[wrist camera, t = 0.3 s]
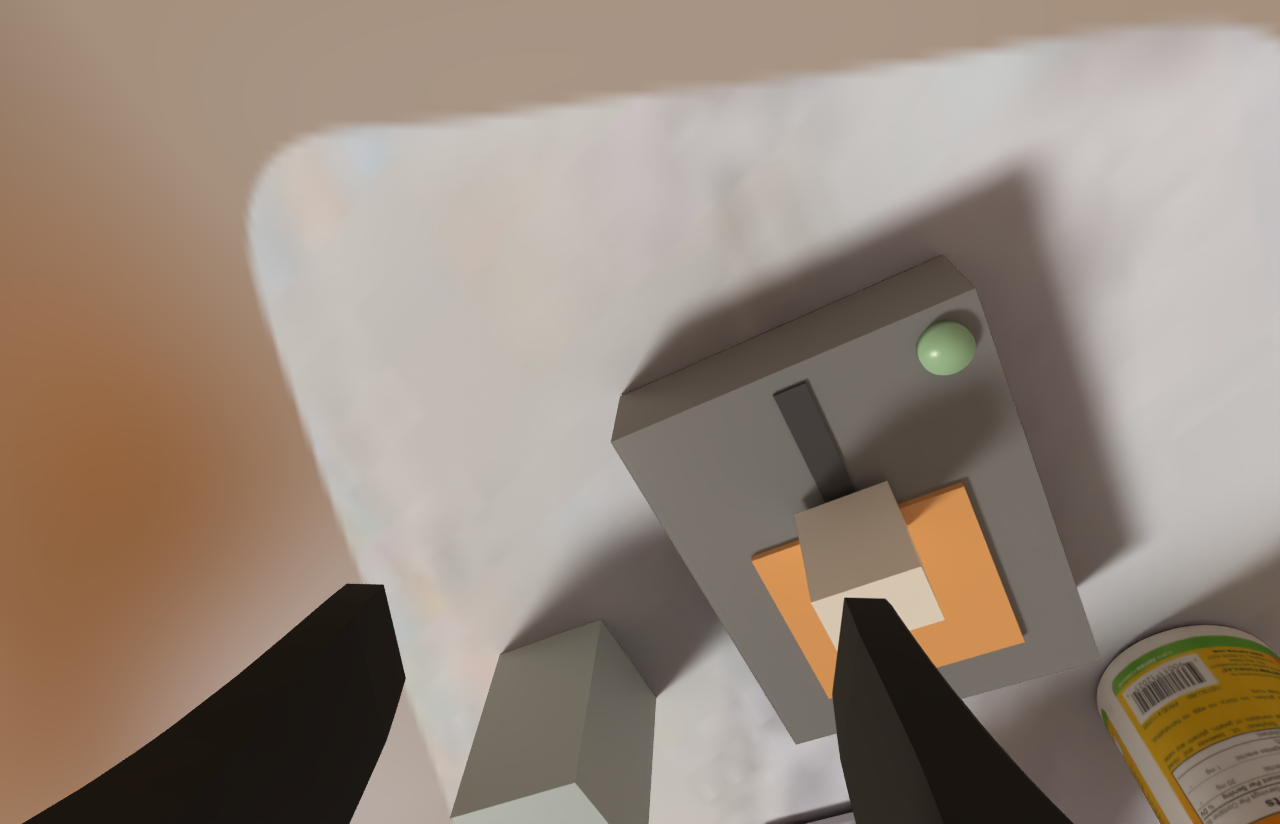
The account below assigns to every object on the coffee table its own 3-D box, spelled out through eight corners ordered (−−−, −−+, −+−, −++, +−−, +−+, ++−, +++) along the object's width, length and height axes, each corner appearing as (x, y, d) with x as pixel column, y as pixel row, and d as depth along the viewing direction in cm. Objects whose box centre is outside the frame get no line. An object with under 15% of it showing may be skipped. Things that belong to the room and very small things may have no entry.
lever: (908, 529, 19) (945, 619, 16) (818, 560, 20) (837, 652, 17) (887, 480, 18) (921, 566, 16) (794, 514, 19) (811, 602, 16)
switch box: (1063, 598, 23) (1105, 668, 21) (787, 681, 26) (797, 752, 23) (943, 254, 19) (979, 292, 16) (620, 396, 21) (609, 448, 19)
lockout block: (656, 697, 27) (645, 868, 21) (558, 727, 28) (525, 898, 22) (601, 618, 25) (574, 782, 20) (500, 654, 26) (450, 818, 21)
